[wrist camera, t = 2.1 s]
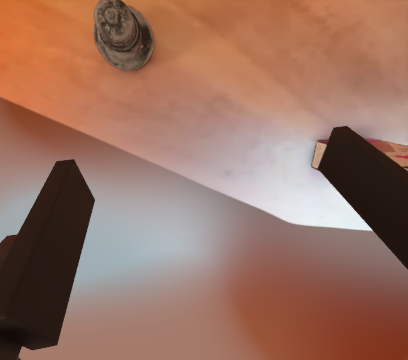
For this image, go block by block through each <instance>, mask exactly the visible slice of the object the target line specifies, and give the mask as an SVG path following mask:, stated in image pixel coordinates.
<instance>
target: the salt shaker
mask: <svg viewBox="0 0 408 360" xmlns="http://www.w3.org/2000/svg"><path fill="white" fill-rule="evenodd" d="M94 20H95V24H94V39H95V43H96V46H97V48H98V51H99V52H100V53H101V55H102V56H103V58H104V59H105V60H106V61H107V62H109V63H110V64H111V65H113V66H115V67H116V68H119V69H122V70H136V69H139V68H141V67H142V66H144V65H145V64H146V63H147V61H148V60H149V59H150V56H151V54H152V52H153V45H154V41H153V34H152V30H151V27H150V25H149V24H148V22H147V20H146V19H145V18H144V16H143V15H142V14H141V13H140V12H139V11H137V10H136V9H134V8H133V7H130V6H127V5H126V4H125V3H124V2H122V1H121V0H100V1H99V2H98V4H97V5H96V7H95V10H94Z"/></svg>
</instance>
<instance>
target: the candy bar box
mask: <svg viewBox="0 0 408 360" xmlns="http://www.w3.org/2000/svg"><path fill="white" fill-rule="evenodd" d="M365 140H366V141H368V142H369V143H371V144H372V145H373V146H375V147H376V148H377V149H379V150H380V151H381V152H383V153H384V154H385V155H387V156H388V157H390V158H391V159H392V160H394V161H395V162H396V163H398V164H399V165H400V166H402V167H403V168H405V169H406V170H407V171H408V146H405V145H400V144H395V143H391V142H386V141H381V140H376V139H365ZM327 143H328V140H321V141H317V143H316V146H315V153H314V157H313V162H312V168H314V169H316V170H318V171H319V169H318V166H319V163H320V161H321V158H322V156H323V153H324V151H325V148H326V145H327Z"/></svg>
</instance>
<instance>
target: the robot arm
mask: <svg viewBox="0 0 408 360" xmlns="http://www.w3.org/2000/svg"><path fill="white" fill-rule="evenodd" d="M318 169H319V171H320V172H321V173H322V174H323V175H324V176H325V177H326V178H327V179H328V181H329V182H330V183H331V184H332V185H333V186H334V187H335V188H336V190H337V191H338V192H339V193H340V194H341V195H342V196H343V197H344V199H345V200H346V201H347V202H348V203H349V204H350V205H351V206H352V207H353V209H354V210H355V211H356V212H357V213H358V214H359V215H360V216H361V218H362V219H363V220H364V221H365V222H366V223H367V224H368V225H369V227H370V228H371V229H372V230H373V231H374V232H375V233H376V234H377V235H378V237H379V238H380V239H381V240H382V241H383V242H384V243H385V244H386V246H387V247H388V248H389V249H390V250H391V251H392V252H393V253H394V254H395V256H396V257H397V258H398V259H399V260H400V261H401V262H402V264H403V265H404V266H405V267H406V268H407V269H408V171H407V170H406V169H405V168H403V167H402V166H400V165H399V164H398V163H396V162H395V161H394V160H392V159H391V158H390V157H388V156H387V155H385V154H384V153H383V152H381V151H380V150H379V149H377V148H376V147H375V146H373V145H372V144H371V143H369V142H368V141H366V140H365V139H364V138H362V137H361V136H360V135H358V134H357V133H356V132H354V131H353V130H351V129H350V128H349V127H347V126H343V127H335V128H333V130H332V133H331V135H330V138H329V140H328V143H327V145H326V148H325V151H324V153H323V156H322V158H321V161H320V163H319V166H318ZM94 202H95V199H94V197H93V195H92V193H91V191H90V189H89V187H88V186H87V184H86V182H85V180H84V178H83V176H82V174H81V172H80V170H79V168H78V166H77V165H76V162H75V161H74V159H73V160H64V161H57V162H56V163H55V165H54V167H53V169H52V171H51V173H50V175H49V177H48V178H47V180H46V182H45V184H44V186H43V188H42V190H41V191H40V194H39V195H38V197H37V199H36V201H35V203H34V205H33V207H32V208H31V210H30V212H29V214H28V216H27V218H26V220H25V222H24V224H23V225H22V227H21V229H20V231H19V233H18V234H17V235H11V236H7V237H6V238H5V239H4V240H3V241H2V242H1V243H0V360H21V359H20V358H19V357H18V356H19V353H20V350H21V347H22V346H23V347H26V348H28V349H30V350H36V349H41V348H46V347H51V346H55V345H57V344H58V340H59V336H60V332H61V328H62V324H63V321H64V317H65V313H66V309H67V305H68V301H69V298H70V294H71V290H72V286H73V282H74V278H75V275H76V270H77V267H78V263H79V259H80V255H81V252H82V248H83V244H84V240H85V236H86V232H87V228H88V225H89V221H90V217H91V213H92V209H93V205H94Z"/></svg>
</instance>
